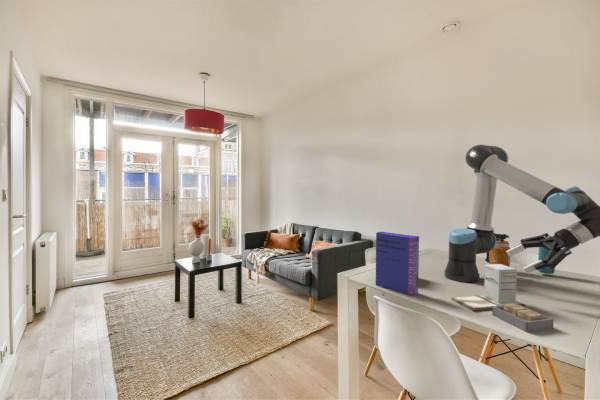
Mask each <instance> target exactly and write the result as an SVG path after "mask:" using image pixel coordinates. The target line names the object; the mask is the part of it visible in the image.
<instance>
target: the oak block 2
mask: <svg viewBox="0 0 600 400" xmlns="http://www.w3.org/2000/svg"><path fill="white" fill-rule="evenodd" d="M530 310H531V309H530ZM530 310H519V311H518V318H520V319H522V320H525V321H535V320H541V315H540V314H541V313H539V314H537V313H538V312H537V313H535V312H536V311H535V312H533V311H534V310H532V311H530Z"/></svg>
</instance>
